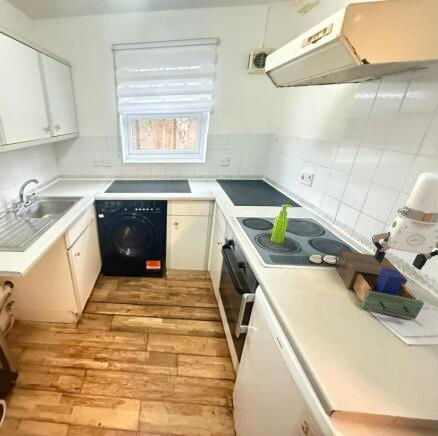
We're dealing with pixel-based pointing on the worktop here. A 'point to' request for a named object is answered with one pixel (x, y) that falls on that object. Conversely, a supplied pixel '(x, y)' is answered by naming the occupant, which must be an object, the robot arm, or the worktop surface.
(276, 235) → the soap dispenser
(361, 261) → the cabinet
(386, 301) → the drawer
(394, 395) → the worktop surface
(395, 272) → the box
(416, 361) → the worktop surface
